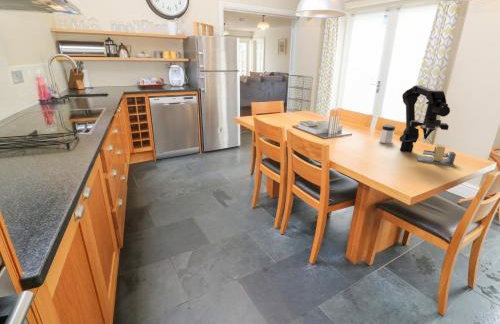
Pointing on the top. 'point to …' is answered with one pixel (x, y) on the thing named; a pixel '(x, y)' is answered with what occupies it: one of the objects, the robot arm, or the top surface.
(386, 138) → the jar
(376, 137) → the top surface
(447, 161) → the shaft stand
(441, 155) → the tan notched block
